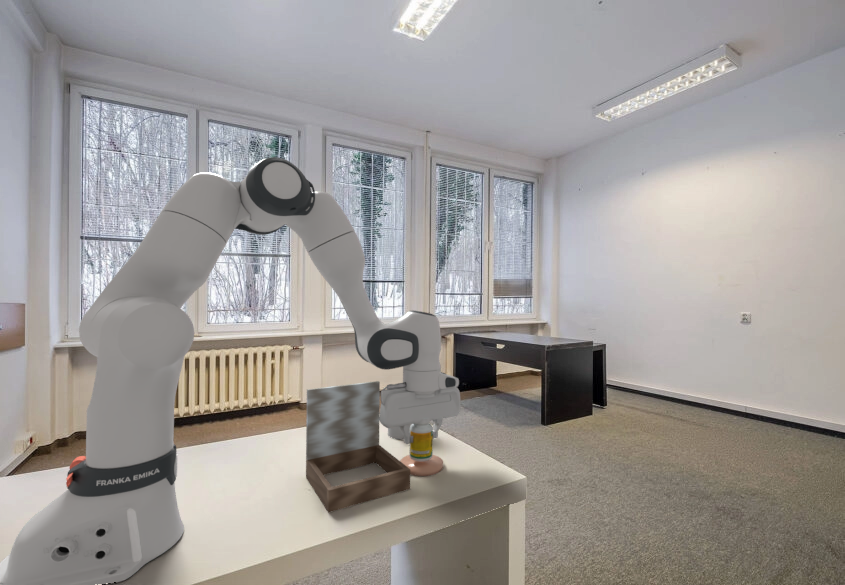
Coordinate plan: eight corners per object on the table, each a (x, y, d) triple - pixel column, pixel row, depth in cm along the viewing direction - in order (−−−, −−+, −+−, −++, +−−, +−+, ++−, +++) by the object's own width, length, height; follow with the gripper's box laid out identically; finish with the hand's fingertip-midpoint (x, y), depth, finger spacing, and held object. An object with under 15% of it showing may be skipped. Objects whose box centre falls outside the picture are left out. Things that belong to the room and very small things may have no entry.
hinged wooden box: (328, 512, 70) (329, 407, 70) (305, 477, 83) (306, 389, 84) (410, 489, 78) (410, 395, 79) (377, 460, 92) (378, 381, 92)
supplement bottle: (407, 453, 91) (407, 413, 91) (429, 451, 92) (429, 411, 92) (411, 463, 86) (412, 419, 86) (435, 461, 87) (435, 418, 87)
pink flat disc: (413, 480, 82) (413, 475, 82) (392, 462, 91) (392, 458, 91) (451, 469, 87) (451, 465, 87) (428, 454, 96) (428, 450, 96)
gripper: (387, 388, 81) (386, 454, 81) (464, 378, 92) (464, 436, 92) (375, 382, 87) (374, 444, 86) (449, 374, 97) (449, 429, 97)
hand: (421, 440), depth 89 cm, fingers closed on supplement bottle, 5 cm apart
